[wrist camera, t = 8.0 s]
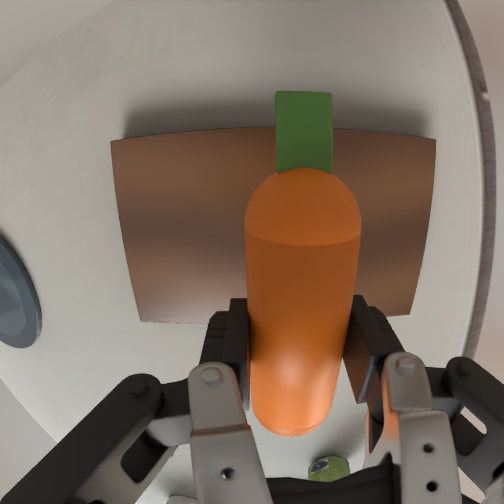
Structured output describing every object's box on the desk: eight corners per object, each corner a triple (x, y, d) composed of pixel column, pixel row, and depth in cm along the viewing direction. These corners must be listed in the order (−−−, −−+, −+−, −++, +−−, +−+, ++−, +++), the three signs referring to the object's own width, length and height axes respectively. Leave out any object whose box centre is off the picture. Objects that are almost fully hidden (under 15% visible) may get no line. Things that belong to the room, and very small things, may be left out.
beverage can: (316, 473, 37) (323, 536, 26) (296, 458, 34) (302, 531, 23) (353, 460, 35) (366, 525, 24) (338, 444, 33) (352, 519, 22)
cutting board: (122, 139, 19) (109, 141, 17) (423, 137, 18) (436, 139, 17) (147, 308, 25) (140, 321, 23) (401, 302, 24) (409, 315, 22)
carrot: (242, 99, 9) (235, 82, 6) (345, 101, 9) (386, 90, 6) (253, 395, 15) (252, 451, 11) (320, 392, 15) (331, 446, 11)
